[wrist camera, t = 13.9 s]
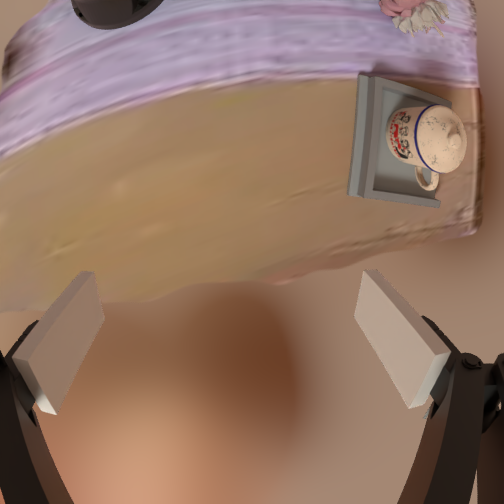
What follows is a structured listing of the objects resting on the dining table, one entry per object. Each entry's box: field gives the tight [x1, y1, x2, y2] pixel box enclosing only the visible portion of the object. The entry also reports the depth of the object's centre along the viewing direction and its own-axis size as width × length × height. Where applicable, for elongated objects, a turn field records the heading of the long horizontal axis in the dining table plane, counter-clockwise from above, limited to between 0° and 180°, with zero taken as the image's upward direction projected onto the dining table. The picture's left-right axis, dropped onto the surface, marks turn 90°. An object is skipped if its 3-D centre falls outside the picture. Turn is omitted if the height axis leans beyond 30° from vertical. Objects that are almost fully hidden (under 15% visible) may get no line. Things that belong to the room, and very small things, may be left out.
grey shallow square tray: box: [347, 75, 452, 208], centre depth 38 cm, size 18×16×3 cm
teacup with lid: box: [386, 104, 467, 190], centre depth 34 cm, size 12×9×12 cm
